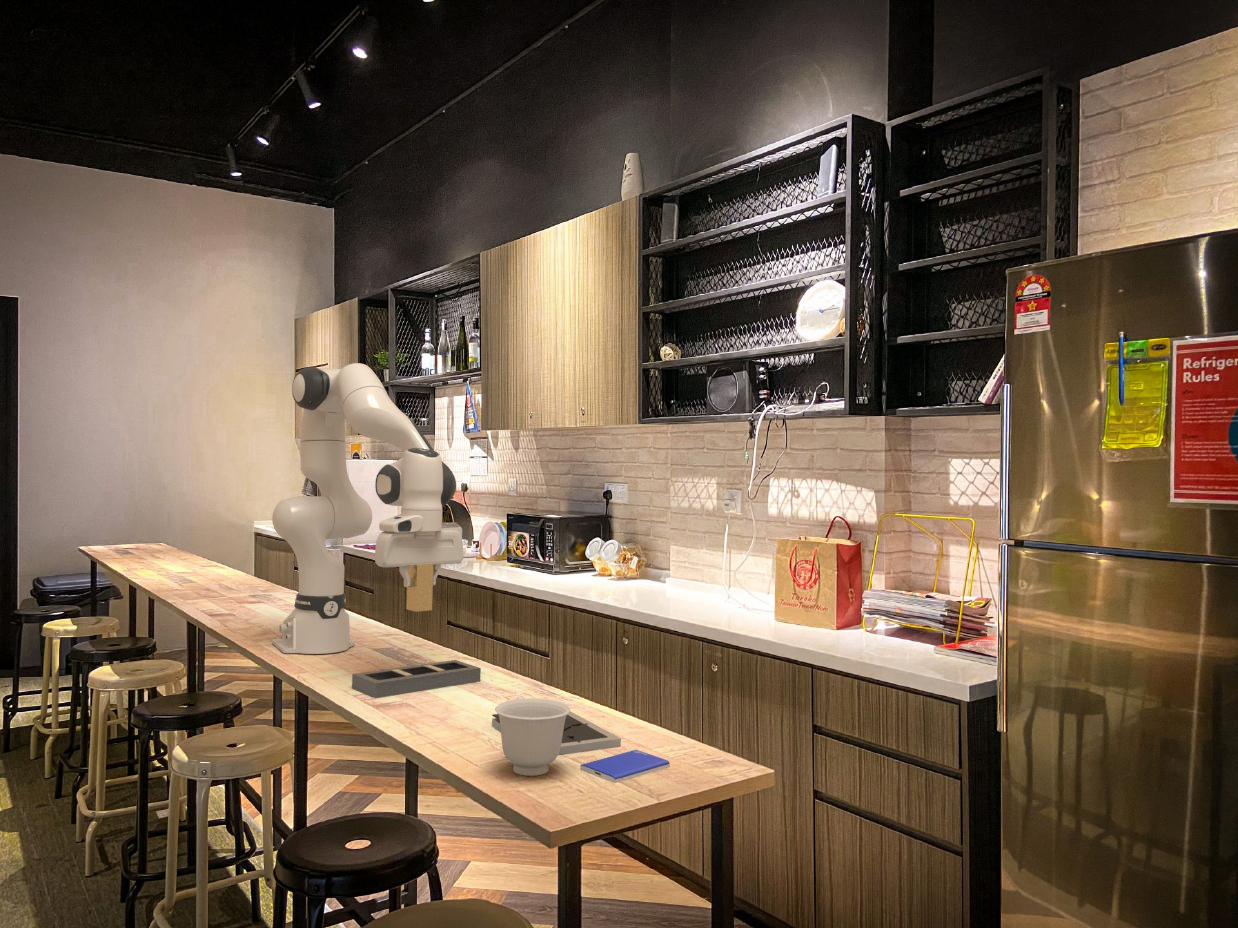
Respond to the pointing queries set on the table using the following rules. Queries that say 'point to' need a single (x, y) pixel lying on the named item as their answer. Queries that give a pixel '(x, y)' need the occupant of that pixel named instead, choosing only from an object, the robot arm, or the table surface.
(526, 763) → the teacup
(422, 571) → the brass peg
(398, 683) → the grey compartment tray
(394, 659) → the table surface
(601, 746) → the picture frame
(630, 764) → the hard drive
